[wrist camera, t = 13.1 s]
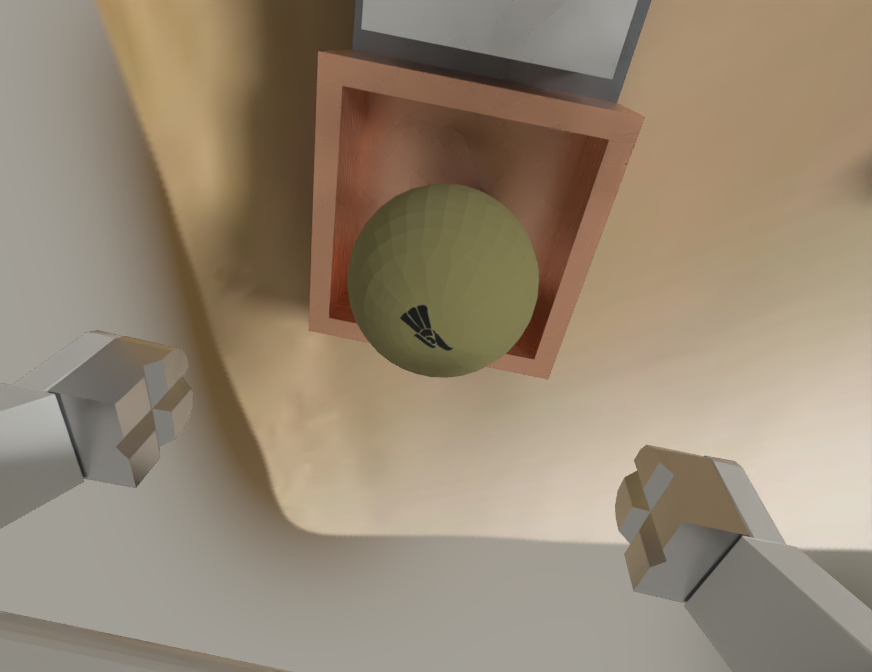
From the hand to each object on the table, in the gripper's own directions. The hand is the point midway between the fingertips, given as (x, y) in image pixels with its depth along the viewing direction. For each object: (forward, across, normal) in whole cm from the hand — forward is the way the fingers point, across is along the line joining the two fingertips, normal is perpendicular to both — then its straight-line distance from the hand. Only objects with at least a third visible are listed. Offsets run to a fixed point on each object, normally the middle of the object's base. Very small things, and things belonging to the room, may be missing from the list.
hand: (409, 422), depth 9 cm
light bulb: (+14, 0, 0) cm, 14 cm away
